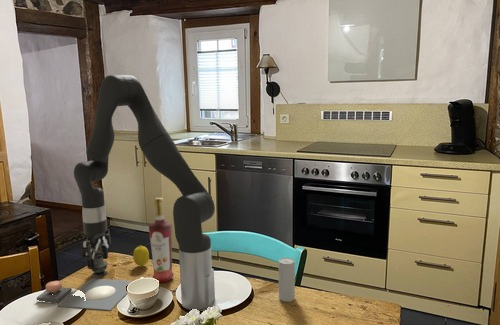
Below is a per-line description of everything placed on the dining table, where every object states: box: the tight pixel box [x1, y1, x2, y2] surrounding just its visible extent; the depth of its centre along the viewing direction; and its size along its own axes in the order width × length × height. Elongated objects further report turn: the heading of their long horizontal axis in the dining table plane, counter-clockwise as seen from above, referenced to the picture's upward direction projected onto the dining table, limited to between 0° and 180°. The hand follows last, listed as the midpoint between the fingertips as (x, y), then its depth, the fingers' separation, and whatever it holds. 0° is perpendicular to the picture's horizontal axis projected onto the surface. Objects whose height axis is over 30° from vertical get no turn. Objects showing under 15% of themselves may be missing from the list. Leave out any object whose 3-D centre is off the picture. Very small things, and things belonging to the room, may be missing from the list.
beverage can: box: [277, 257, 296, 303], centre depth 118 cm, size 5×5×12 cm
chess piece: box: [90, 245, 109, 279], centre depth 137 cm, size 6×6×12 cm
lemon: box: [132, 245, 150, 268], centre depth 143 cm, size 6×6×8 cm
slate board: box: [57, 277, 133, 312], centre depth 124 cm, size 17×18×1 cm
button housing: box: [36, 286, 73, 305], centre depth 123 cm, size 7×7×2 cm
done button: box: [45, 280, 63, 295], centre depth 122 cm, size 4×4×3 cm
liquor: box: [148, 197, 175, 284], centre depth 131 cm, size 7×7×28 cm
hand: (98, 263), depth 138 cm, fingers open, 8 cm apart
